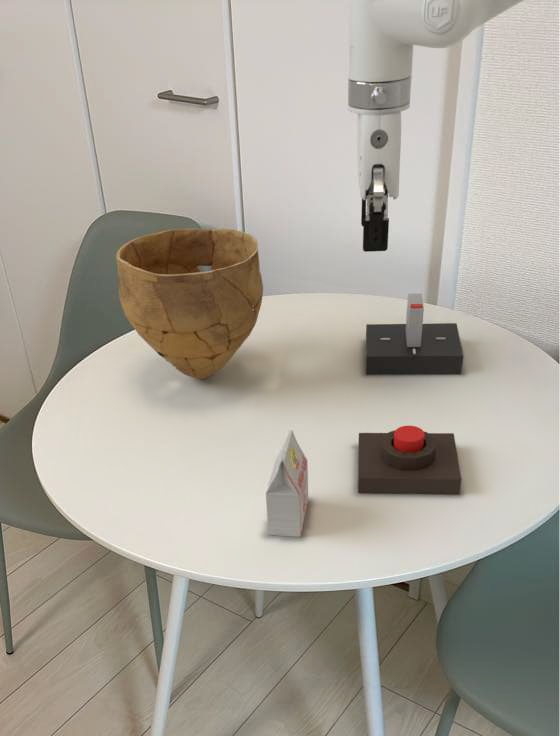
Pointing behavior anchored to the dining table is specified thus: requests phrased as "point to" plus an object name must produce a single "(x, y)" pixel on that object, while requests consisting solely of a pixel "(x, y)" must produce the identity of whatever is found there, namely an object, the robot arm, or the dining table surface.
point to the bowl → (192, 294)
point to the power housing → (408, 465)
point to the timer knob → (414, 320)
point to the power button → (409, 439)
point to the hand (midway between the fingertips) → (373, 237)
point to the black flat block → (413, 350)
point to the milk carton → (288, 491)
